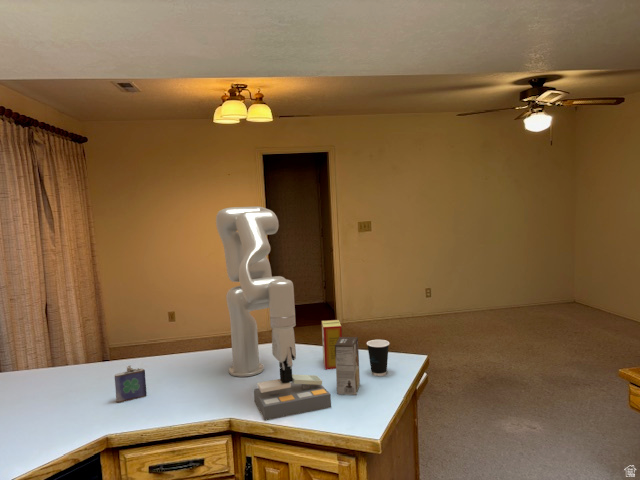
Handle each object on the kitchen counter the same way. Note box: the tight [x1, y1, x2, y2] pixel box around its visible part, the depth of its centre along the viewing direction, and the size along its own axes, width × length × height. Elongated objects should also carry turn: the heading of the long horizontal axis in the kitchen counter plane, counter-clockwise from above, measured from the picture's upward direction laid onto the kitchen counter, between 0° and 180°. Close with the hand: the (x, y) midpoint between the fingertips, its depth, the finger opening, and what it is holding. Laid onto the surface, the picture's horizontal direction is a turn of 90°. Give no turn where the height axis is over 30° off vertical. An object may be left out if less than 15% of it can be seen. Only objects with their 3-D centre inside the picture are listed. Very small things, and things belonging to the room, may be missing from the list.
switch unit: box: [253, 382, 332, 421], centre depth 142 cm, size 14×20×5 cm
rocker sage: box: [292, 373, 323, 386], centre depth 145 cm, size 5×9×1 cm, turn 110°
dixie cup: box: [366, 339, 391, 377], centre depth 164 cm, size 8×8×11 cm
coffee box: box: [335, 336, 361, 396], centre depth 151 cm, size 9×6×16 cm
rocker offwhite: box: [256, 378, 291, 393], centre depth 141 cm, size 5×9×1 cm, turn 110°
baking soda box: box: [321, 319, 343, 370], centre depth 175 cm, size 10×6×16 cm
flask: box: [114, 365, 148, 403], centre depth 152 cm, size 9×3×11 cm, turn 121°
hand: (286, 381), depth 142 cm, fingers closed
